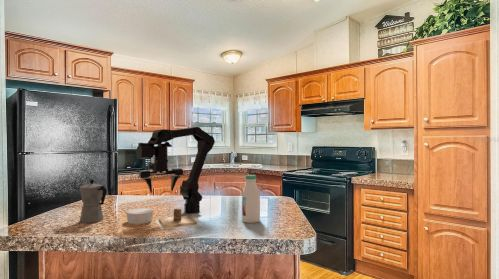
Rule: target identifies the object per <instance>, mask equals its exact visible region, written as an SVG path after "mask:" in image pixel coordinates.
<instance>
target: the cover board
mask: <svg viewBox="0 0 499 279" xmlns="http://www.w3.org/2000/svg"><path fill="white" fill-rule="evenodd" d="M191 217H192V216H190V214H187V215H182V208H174V209H173V216H170V217H169V216H168V217H160V218H158V220H159V221H160V223H161V224H162V225H163V227H164V228H170V227H179V226H188V225H196V224H197V222H198V221H197V220H196V219H195V218H194V217H193V218H194V219H195V220H196V221H197V222H196V221H195V220H194V219H193V218H191Z"/></svg>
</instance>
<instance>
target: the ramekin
mask: <svg viewBox="0 0 499 279" xmlns="http://www.w3.org/2000/svg"><path fill="white" fill-rule="evenodd" d="M125 214H126V220H127V223H128V224H129V225H143V224H148V223H151V222H152V220H153V216H154V208H150V207H137V208H130V209H128V210H126V211H125Z"/></svg>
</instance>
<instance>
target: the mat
mask: <svg viewBox="0 0 499 279" xmlns="http://www.w3.org/2000/svg"><path fill="white" fill-rule="evenodd" d="M190 217H191V218H193V219H194V220H195V221H196V222H197V224H196V225H188V226H179V227H170V228H164V227H163V225H162V224H161V223H160V221H159V219H155V220H154V221H155V223H156V224H157V226H158V227H159V229H160V230H169V229H170V230H171V229H179V228H188V227H197V226H202V224H201V223H200V222H198V221H197V220H196V219H195V218H194V217H193V216H190Z"/></svg>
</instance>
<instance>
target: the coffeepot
mask: <svg viewBox="0 0 499 279" xmlns="http://www.w3.org/2000/svg"><path fill="white" fill-rule="evenodd" d="M94 181H95V180H94V179H89V182H90V183H87V184H85V185H80V186H79V191H80V196H81V198H80V199H81V202H82V203H83V204H82V205H83V206H82V207H81V208H82V209H81V211H80V212H81V213H80V217H79V222H80V223H82V224H93V223H98V222H101V220H102V221H103V220H104V215H103V209H102V206H103V205H104V203H105V201H106V200H105V199H106V195H107V193H108V189H107V187H106V186H105V185H103V184H98V183H94Z"/></svg>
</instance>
